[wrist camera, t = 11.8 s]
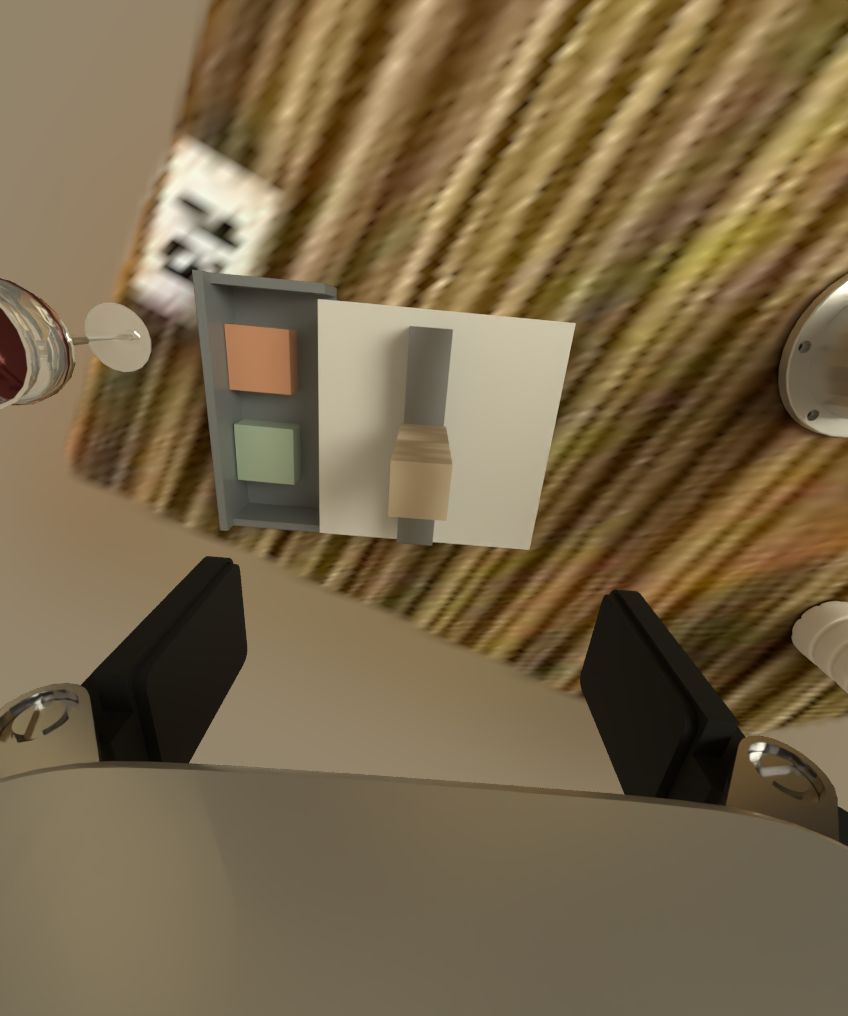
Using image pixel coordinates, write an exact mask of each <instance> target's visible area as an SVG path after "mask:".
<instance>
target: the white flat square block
mask: <svg viewBox="0 0 848 1016" xmlns="http://www.w3.org/2000/svg"><path fill="white" fill-rule="evenodd" d="M575 324H576V323H568V322H557V321H546V320H536V319H525V318H515V317H504V316H493V315H483V314H472V313H461V312H451V311H440V310H430V309H419V308H408V307H398V306H387V305H377V304H366V303H355V302H345V301H334V300H324V299H318V395H319V513H320V533H329V534H341V535H353V536H365V537H378V538H390V539H397V526H398V517H389V516H388V507H389V487H390V468H391V458H392V454H393V451H394V447H395V444H396V440H397V437H398V433H399V429H400V426H401V423H404V410H405V393H406V376H407V360H408V343H409V327H410V326H419V327H431V328H443V329H452V330H453V335H452V346H451V356H450V367H449V377H448V387H447V398H446V408H445V418H444V427H446V429H447V435H448V441H449V447H450V453H451V459H452V474H451V483H450V493H449V502H448V511H447V520H446V521H442V520H435V522H434V532H433V542H439V543H451V544H463V545H476V546H488V547H500V548H512V549H525V550H529V549H530V544H531V540H532V535H533V530H534V525H535V520H536V515H537V510H538V505H539V500H540V496H541V491H542V486H543V481H544V476H545V471H546V466H547V461H548V456H549V452H550V447H551V442H552V437H553V432H554V427H555V422H556V417H557V412H558V408H559V403H560V398H561V393H562V388H563V383H564V378H565V373H566V368H567V364H568V359H569V354H570V349H571V344H572V339H573V334H574V329H575Z"/></svg>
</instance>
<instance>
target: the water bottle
mask: <svg viewBox="0 0 848 1016" xmlns="http://www.w3.org/2000/svg"><path fill="white" fill-rule="evenodd" d="M791 638H792V642H793V644H794V646H795V647H796V648H797V649H798V650H799V651H800V652H801V653H802V654H803V655H805V656H806V657H807V658H808V659H809V660H810V661H811V662H813V663H814V664H815V665H817V666H818V667H819V668H820V669H821V670H822V671H823V672H824V673H825V674H826V675H827V676H829V677H830V678H831V679H833V680H834V681H836V683H837V684H838V685H839V686H840V687H841V688H842V689H843V690H844V691H846V692H847V693H848V602H840V601H830V602H825V603H822V604H820V606H815V607H812V608H811V609H809V610H807V611H806V612H805V613H804V614H803V615H802V616H801V619H798V620H797V621H796V623H795V624H794V626H793V629H792V636H791Z"/></svg>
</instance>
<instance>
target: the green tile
mask: <svg viewBox="0 0 848 1016" xmlns="http://www.w3.org/2000/svg"><path fill="white" fill-rule="evenodd" d="M234 434H235V447H236V461H237V474H238V480H247V481H257V482H268V483H279V484H290V485H295V483H296V482H297V481H298V480H299V479H300V477H301V446H300V424H292V423H282V422H272V421H262V420H251V419H243V420H241V421H239V422H237V423H235V424H234Z"/></svg>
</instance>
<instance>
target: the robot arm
mask: <svg viewBox="0 0 848 1016" xmlns="http://www.w3.org/2000/svg"><path fill="white" fill-rule="evenodd" d="M778 384H779V391H780V397H781V399H782V402H783V404H784V407H785V409H786V410H787V412H788V413H789V414H790V416H791V417H792V418H793V419H794V420H795V421H796V422H797V423H799V424H800V425H801V426H802V427H804V428H806V429H809V430H811V431H813V432H816V433H820V434H824V435H827V436H831V437H843V438H847V437H848V274H846V275H845V276H843V277H842V278H840V279H839V280H837V281H836V282H835V283H833V284H832V285H830V286H829V287H828V288H827V289H826V290H825V291H823V292H822V293H821V294H820V295H819V296H818V297H817V298H816V299H815V300H814V301H813V302H812V303H811V304H810V306H809V307H808V308H807V309H806V310H805V312H804V313H803V314H802V315H801V317H800V318H799V320H798V321H797V323H796V325H795V326H794V328H793V330H792V331H791V333H790V335H789V337H788V340H787V342H786V344H785V347H784V349H783V353H782V357H781V361H780V365H779V377H778ZM246 655H247V640H246V629H245V618H244V608H243V598H242V586H241V576H240V568H239V566H238V565H237V564H233V561H232V559H230V558H222V557H210V556H207V557H205V558H204V559H202V561H201V562H200V563H199V564H198V565H197V566H196V567H195V568H194V569H193V570H192V571H191V572H190V573H189V574H188V575H187V576H186V577H185V578H184V579H183V580H182V581H181V582H180V583H179V584H178V585H177V586H176V587H175V588H174V589H173V590H172V591H171V592H170V593H169V594H168V595H167V597H166V598H165V599H164V600H163V601H162V602H161V603H160V604H159V605H158V606H157V607H156V608H155V609H154V610H153V611H152V612H151V613H150V614H149V615H148V616H147V617H146V618H145V619H144V620H143V621H142V622H141V623H140V624H139V625H138V626H137V627H136V629H134V630H133V631H132V633H130V635H129V636H128V637H127V638H126V639H125V640H124V641H123V642H122V643H121V644H120V645H119V646H118V647H117V648H116V649H115V650H114V651H113V652H112V653H111V654H110V655H109V656H108V657H107V658H106V659H105V660H104V661H103V662H102V663H101V664H100V665H99V666H98V668H96V669H95V670H94V672H93V673H92V674H91V675H90V676H89V677H88V678H87V679H86V680H85V681H84V682H83V684H82V685H78V684H71V683H61V684H52V685H48V686H44V687H40V688H37V689H34V690H32V691H30V692H27V693H25V694H22V695H20V696H19V697H17V698H16V699H14V700H12V701H10V702H8V703H7V704H5V705H4V706H3V707H2V708H1V709H0V1016H848V812H847V811H845V810H843V809H842V808H840V807H838V798H837V795H836V791H835V788H834V786H833V785H832V783H831V781H830V780H829V778H828V777H827V775H826V774H825V773H824V772H823V771H822V770H821V769H820V768H819V767H818V766H817V765H816V764H815V763H813V762H812V761H811V760H810V759H808V758H807V757H806V756H805V755H803V754H802V753H800V752H799V751H797V750H795V749H794V748H792V747H790V746H788V745H787V744H784V743H782V742H780V741H777V740H775V739H772V738H768V737H764V736H748V737H745V736H744V735H743V733H742V732H741V731H740V729H739V728H738V727H737V726H738V724H739V721H738V720H737V719H736V717H735V716H734V715H733V713H732V712H731V711H730V710H729V708H728V707H727V706H726V704H725V703H724V702H723V701H722V699H721V698H720V697H719V695H718V694H717V693H716V691H715V690H714V689H713V688H712V686H711V685H710V684H709V682H708V681H707V680H706V679H705V677H704V676H703V675H702V673H701V672H700V671H699V669H698V668H697V667H696V666H695V664H694V663H693V662H692V660H691V659H690V658H689V657H688V655H687V654H686V653H685V651H684V650H683V649H682V647H681V646H680V645H679V644H678V642H677V641H676V640H675V638H674V637H673V636H672V635H671V633H670V632H669V631H668V629H667V628H666V627H665V625H664V624H663V623H662V622H661V620H660V619H659V618H658V616H657V615H656V614H655V613H654V611H653V610H652V609H651V607H650V606H649V605H648V603H647V602H646V601H645V600H644V598H643V597H642V596H641V594H640V593H638V592H636V591H626V590H613V591H612V592H611V593H610V595H605V596H604V597H603V600H602V603H601V607H600V610H599V614H598V617H597V620H596V624H595V627H594V631H593V634H592V637H591V641H590V644H589V648H588V651H587V654H586V658H585V661H584V665H583V668H582V671H581V676H580V684H581V689H582V692H583V694H584V697H585V699H586V701H587V704H588V706H589V709H590V711H591V714H592V716H593V718H594V721H595V723H596V726H597V728H598V730H599V733H600V735H601V738H602V740H603V743H604V745H605V748H606V750H607V753H608V755H609V757H610V760H611V762H612V764H613V767H614V770H615V772H616V774H617V777H618V779H619V782H620V784H621V787H622V789H623V791H624V794H625V795H622V794H612V793H600V792H587V791H574V790H561V789H549V788H537V787H524V786H511V785H499V784H486V783H472V782H459V781H446V780H431V779H418V778H405V777H390V776H376V775H363V774H349V773H334V772H319V771H304V770H289V769H274V768H259V767H244V766H230V765H210V764H209V765H208V764H189V762H190V760H191V758H192V756H193V755H194V753H195V751H196V749H197V747H198V746H199V744H200V742H201V740H202V738H203V737H204V735H205V733H206V731H207V729H208V728H209V725H210V724H211V722H212V720H213V719H214V717H215V715H216V713H217V711H218V709H219V708H220V706H221V704H222V702H223V700H224V698H225V697H226V695H227V693H228V691H229V689H230V688H231V686H232V684H233V682H234V681H235V679H236V677H237V675H238V673H239V671H240V670H241V668H242V666H243V664H244V662H245V659H246Z"/></svg>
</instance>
